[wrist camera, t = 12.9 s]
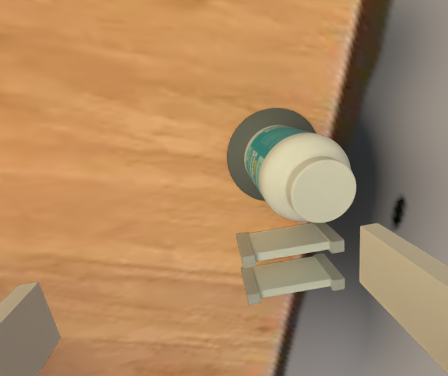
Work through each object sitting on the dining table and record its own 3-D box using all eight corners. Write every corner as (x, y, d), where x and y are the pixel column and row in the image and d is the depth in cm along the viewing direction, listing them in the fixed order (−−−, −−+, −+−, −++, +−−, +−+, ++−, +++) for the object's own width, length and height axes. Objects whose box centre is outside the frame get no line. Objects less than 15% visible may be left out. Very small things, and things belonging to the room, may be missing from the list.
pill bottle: (231, 144, 30) (252, 171, 17) (289, 112, 30) (355, 115, 17) (260, 198, 33) (297, 257, 20) (314, 169, 32) (389, 210, 19)
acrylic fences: (242, 276, 36) (248, 305, 31) (235, 233, 34) (241, 257, 29) (323, 262, 36) (344, 288, 31) (322, 219, 34) (344, 240, 29)
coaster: (233, 206, 33) (233, 207, 33) (220, 115, 30) (221, 116, 29) (319, 192, 33) (321, 193, 33) (316, 101, 30) (317, 101, 30)
